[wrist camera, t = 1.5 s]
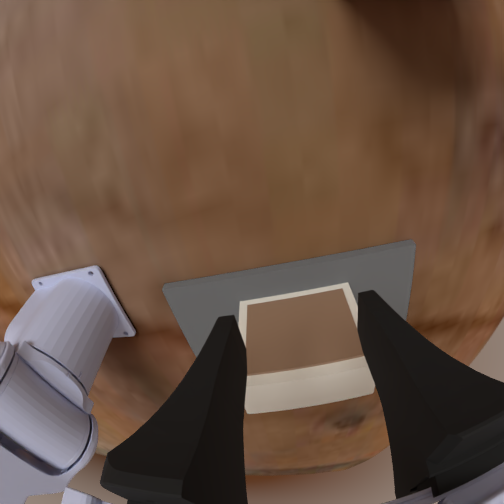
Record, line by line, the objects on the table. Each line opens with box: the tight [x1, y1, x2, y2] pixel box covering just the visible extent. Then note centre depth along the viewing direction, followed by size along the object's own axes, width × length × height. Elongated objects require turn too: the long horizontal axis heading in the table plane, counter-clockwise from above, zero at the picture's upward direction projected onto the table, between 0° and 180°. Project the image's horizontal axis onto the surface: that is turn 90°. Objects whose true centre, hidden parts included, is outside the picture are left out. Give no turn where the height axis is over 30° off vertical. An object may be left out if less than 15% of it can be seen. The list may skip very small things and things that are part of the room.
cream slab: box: [238, 282, 375, 414], centre depth 20 cm, size 8×4×8 cm, turn 102°
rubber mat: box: [162, 239, 416, 358], centre depth 26 cm, size 20×18×1 cm
